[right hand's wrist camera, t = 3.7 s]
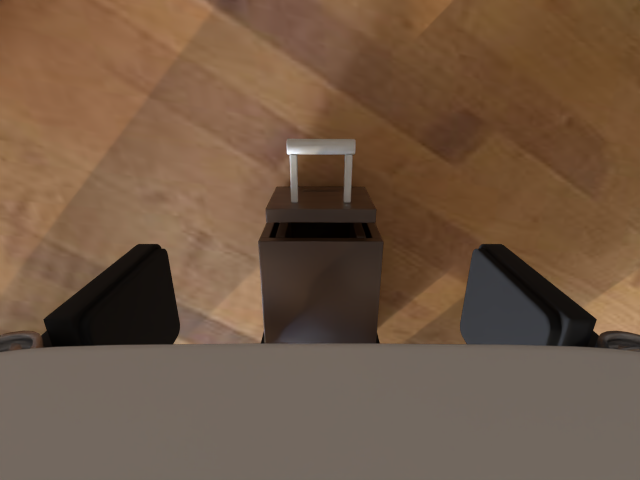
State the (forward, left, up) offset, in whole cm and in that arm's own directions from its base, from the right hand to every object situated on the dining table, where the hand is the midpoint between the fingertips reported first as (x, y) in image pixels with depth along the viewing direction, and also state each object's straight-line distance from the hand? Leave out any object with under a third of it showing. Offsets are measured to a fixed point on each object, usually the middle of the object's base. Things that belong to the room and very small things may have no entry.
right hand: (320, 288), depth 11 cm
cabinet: (-11, -9, -27) cm, 31 cm away
